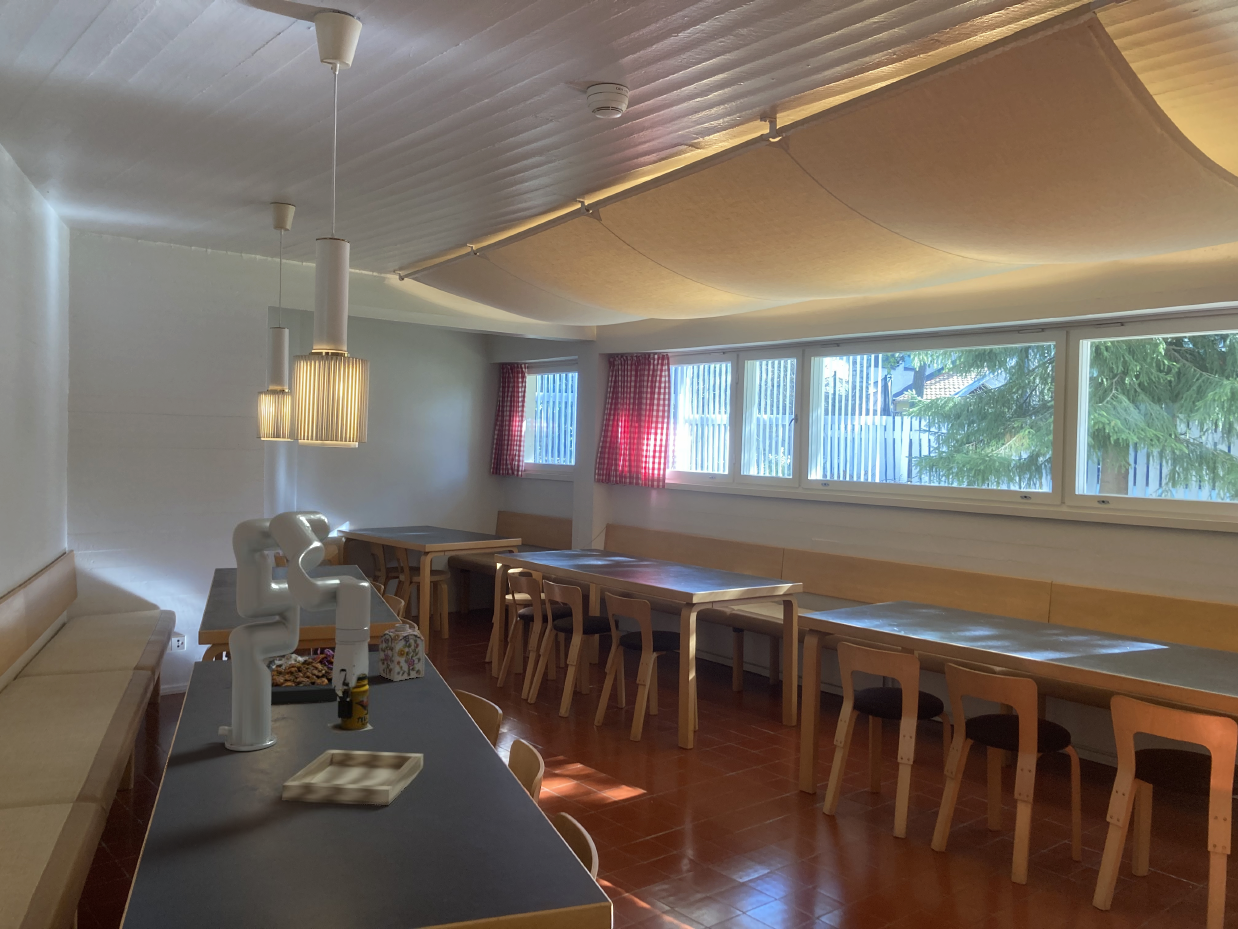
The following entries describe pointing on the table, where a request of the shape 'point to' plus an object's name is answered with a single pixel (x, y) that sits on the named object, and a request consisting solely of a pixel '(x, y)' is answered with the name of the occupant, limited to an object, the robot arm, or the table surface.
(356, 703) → the condiment
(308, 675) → the food platter
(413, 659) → the decorative jar
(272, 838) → the table surface
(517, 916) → the table surface
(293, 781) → the tray
